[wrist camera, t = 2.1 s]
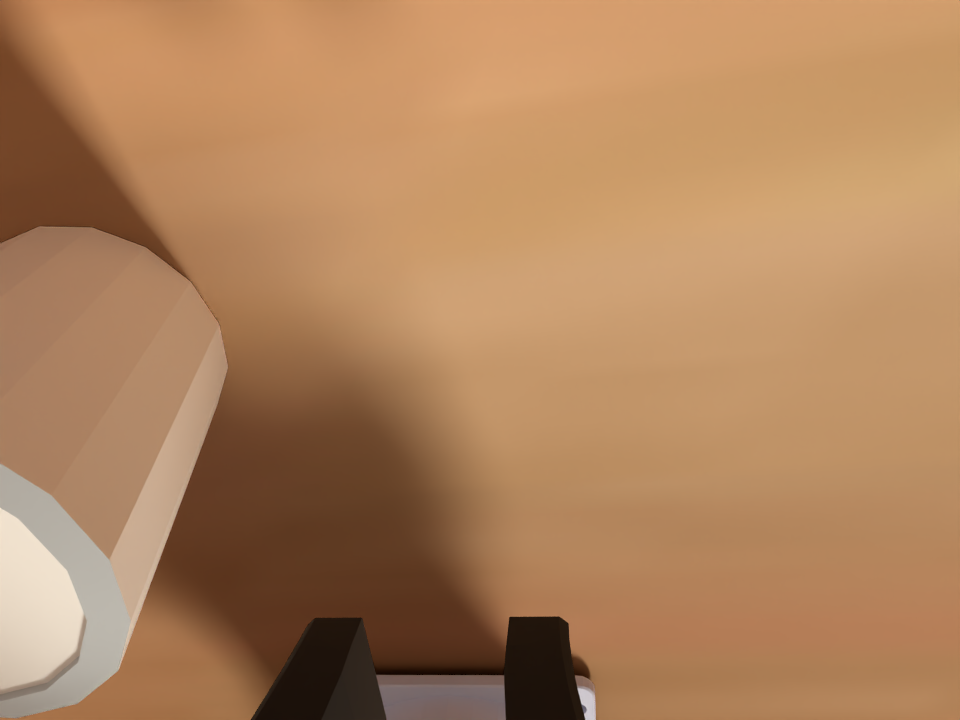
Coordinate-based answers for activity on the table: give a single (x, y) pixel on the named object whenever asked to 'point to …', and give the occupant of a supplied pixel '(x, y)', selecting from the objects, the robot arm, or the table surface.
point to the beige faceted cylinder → (91, 449)
